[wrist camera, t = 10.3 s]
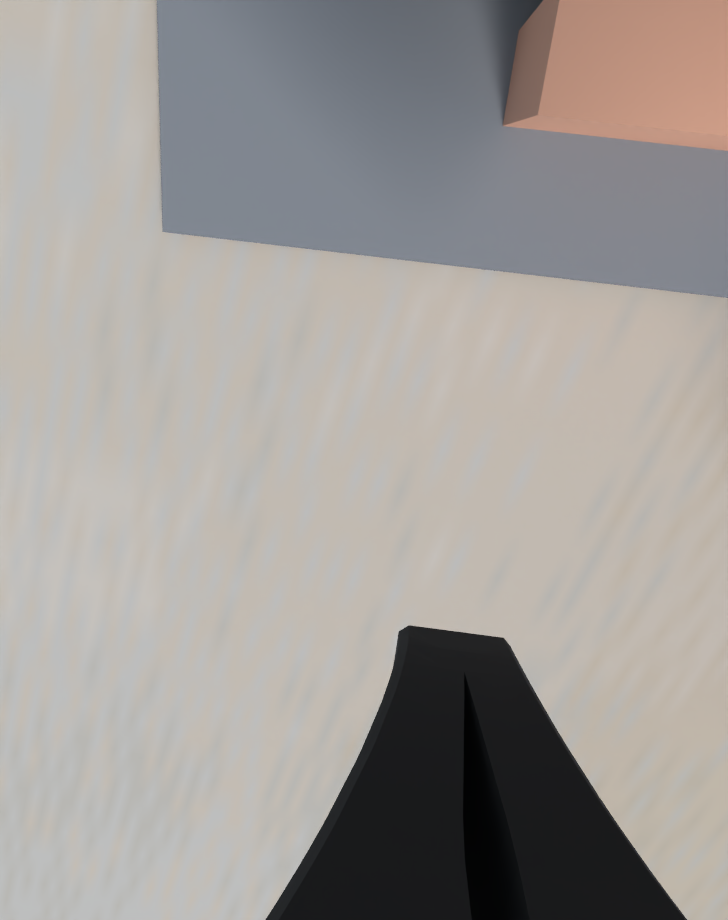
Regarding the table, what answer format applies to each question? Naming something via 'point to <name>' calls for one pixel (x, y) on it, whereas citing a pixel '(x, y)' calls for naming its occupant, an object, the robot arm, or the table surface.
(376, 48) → the felt mat
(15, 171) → the table surface
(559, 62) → the salmon orange block
